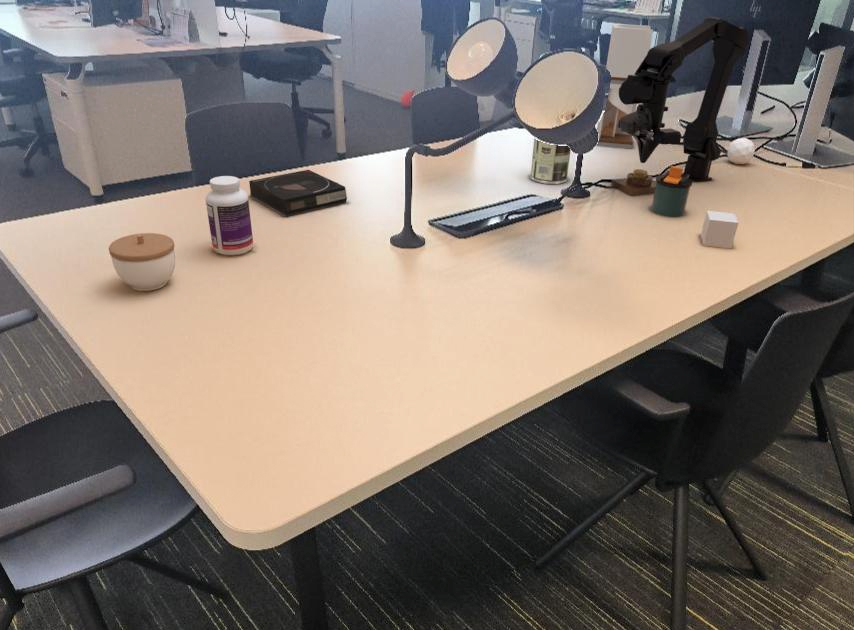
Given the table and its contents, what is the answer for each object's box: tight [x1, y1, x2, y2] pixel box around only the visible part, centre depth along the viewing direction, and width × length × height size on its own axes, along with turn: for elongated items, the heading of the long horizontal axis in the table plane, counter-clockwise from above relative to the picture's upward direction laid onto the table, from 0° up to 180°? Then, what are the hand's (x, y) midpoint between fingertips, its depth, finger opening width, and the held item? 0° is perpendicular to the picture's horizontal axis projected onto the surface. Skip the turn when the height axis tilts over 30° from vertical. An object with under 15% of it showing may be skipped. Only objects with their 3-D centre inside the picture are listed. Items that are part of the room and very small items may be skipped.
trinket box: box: [108, 232, 176, 292], centre depth 125 cm, size 11×11×9 cm
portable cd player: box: [248, 169, 348, 218], centre depth 168 cm, size 16×17×4 cm
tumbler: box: [650, 170, 693, 218], centre depth 172 cm, size 9×9×9 cm
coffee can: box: [529, 137, 571, 185], centre depth 190 cm, size 10×10×14 cm
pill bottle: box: [205, 175, 254, 256], centre depth 139 cm, size 8×8×14 cm
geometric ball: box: [726, 137, 756, 165], centre depth 213 cm, size 8×8×8 cm
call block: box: [610, 171, 657, 197], centre depth 188 cm, size 11×9×4 cm
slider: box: [663, 165, 684, 184], centre depth 168 cm, size 5×3×3 cm
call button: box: [632, 168, 649, 179], centre depth 187 cm, size 4×4×2 cm
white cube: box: [700, 210, 739, 249], centre depth 156 cm, size 6×6×6 cm
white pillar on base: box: [596, 23, 654, 150], centre depth 221 cm, size 11×11×35 cm
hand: (642, 162), depth 185 cm, fingers closed
